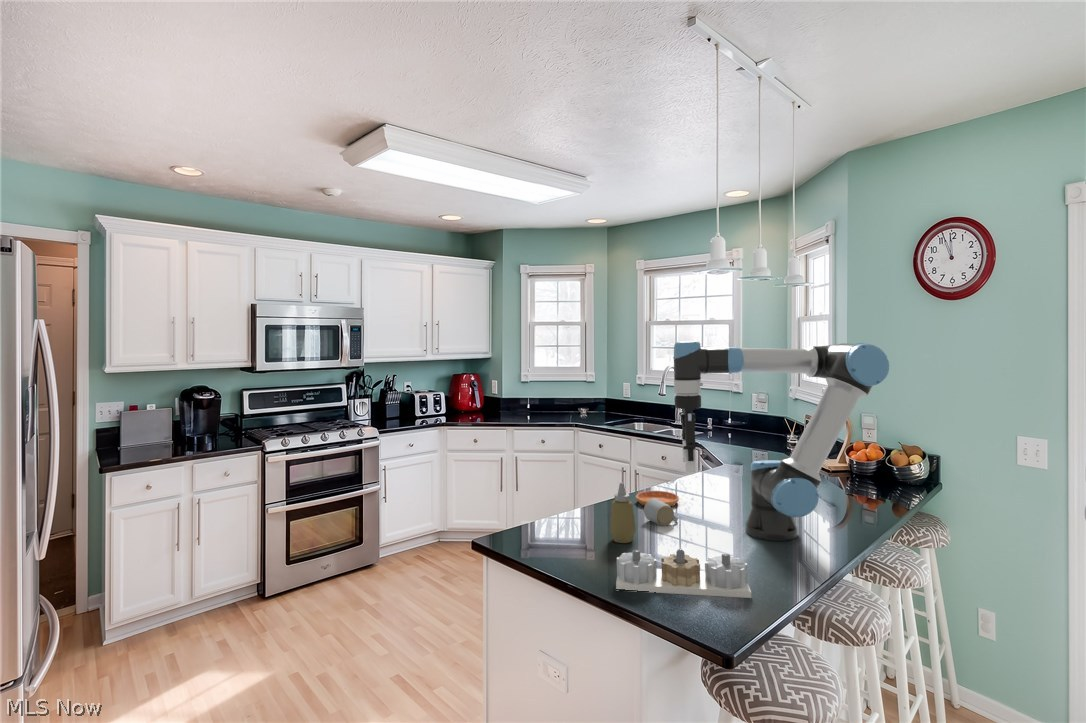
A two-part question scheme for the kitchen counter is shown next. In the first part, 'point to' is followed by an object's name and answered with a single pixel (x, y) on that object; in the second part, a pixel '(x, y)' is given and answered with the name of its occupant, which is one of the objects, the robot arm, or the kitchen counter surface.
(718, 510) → the kitchen counter surface
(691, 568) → the wooden gear
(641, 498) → the saucer
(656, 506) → the ceramic mug
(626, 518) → the squeeze bottle
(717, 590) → the gear board
